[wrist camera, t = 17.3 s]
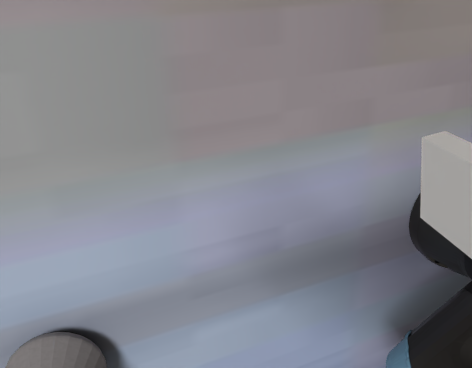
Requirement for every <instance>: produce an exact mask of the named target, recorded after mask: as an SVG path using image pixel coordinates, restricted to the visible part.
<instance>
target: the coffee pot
mask: <svg viewBox="0 0 472 368" xmlns="http://www.w3.org/2000/svg"><path fill="white" fill-rule="evenodd" d="M6 368H107V365H106V359H105V357H104V356H103V354H102V352H101V351H100V349H99V347H98V346H97V345H96V344H94V343H93V342H92V341H91V340H89V339H87V338H85V337H83V336H81V335H78V334H74V333H70V332H54V333H47V334H43V335H40V336H37V337H35V338H32V339H31V340H29V341H28V342H26V343H24V344H23V345H22V346H21V347H20V348H19V349H18V350H17V351H16V352H15V353H14V354H13V355H12V356H11V357H10V359H9V361H8V363H7V366H6Z"/></svg>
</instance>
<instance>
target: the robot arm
mask: <svg viewBox="0 0 472 368" xmlns="http://www.w3.org/2000/svg"><path fill="white" fill-rule="evenodd" d="M409 230H410V236H411V239H412V242H413V244H414V245H415V247H416V248H417V249H418V250H419V251H420V252H421V253H422V254H423V255H424V256H425V257H426V258H427V259H429V260H430V261H431V262H433V263H435V264H437V265H439V266H442V267H445V268H449V269H451V270H453V271H455V272H457V273H460V274H462V275H465V276H467V277H470V278H471V279H472V143H470V142H468V141H466V140H464V139H461V138H459V137H457V136H455V135H453V134H451V133H449V132H446V131H444V132H440V133H436V134H432V135H428V136H424V137H422V156H421V193H420V195H419V196H418V198H417V200H416V202H415V204H414V206H413V209H412V212H411V216H410V222H409ZM386 368H472V281H471V282H470V283H469V284H468V285H466V286H465V287H464V288H463V289H461V290H460V291H459V292H458V293H457V294H455V295H454V296H453V297H452V298H451V299H449V300H448V301H447V302H446V303H445V304H444V305H442V306H441V307H440V308H439V309H438V310H436V311H435V312H434V313H433V314H432V315H430V316H429V317H428V318H427V319H426V320H425V321H423V322H422V323H421V324H420V325H419V326H417V327H416V328H415V329H414V330H410V331H409V332H407V334H406V335H405V338H404V339H403V340H402V341H401V342H400V343H399V344H398V345H397V346H396V347H394V348H393V349H392V350H391V351H390V353H389V354H388V356H387V360H386Z"/></svg>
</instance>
